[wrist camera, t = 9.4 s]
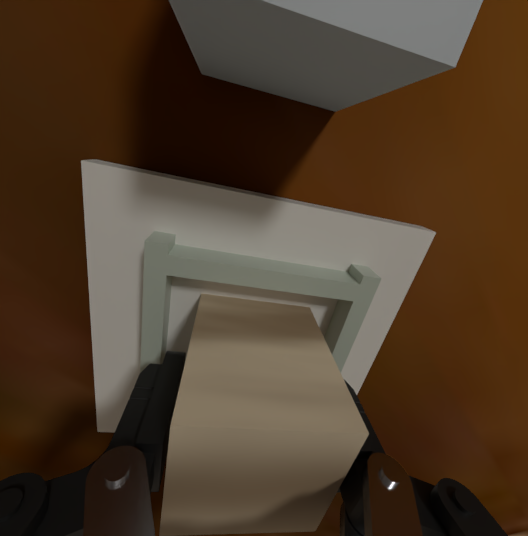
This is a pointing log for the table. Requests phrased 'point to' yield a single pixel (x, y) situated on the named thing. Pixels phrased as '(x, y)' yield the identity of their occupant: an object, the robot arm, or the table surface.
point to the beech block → (257, 423)
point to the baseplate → (229, 269)
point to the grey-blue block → (325, 44)
